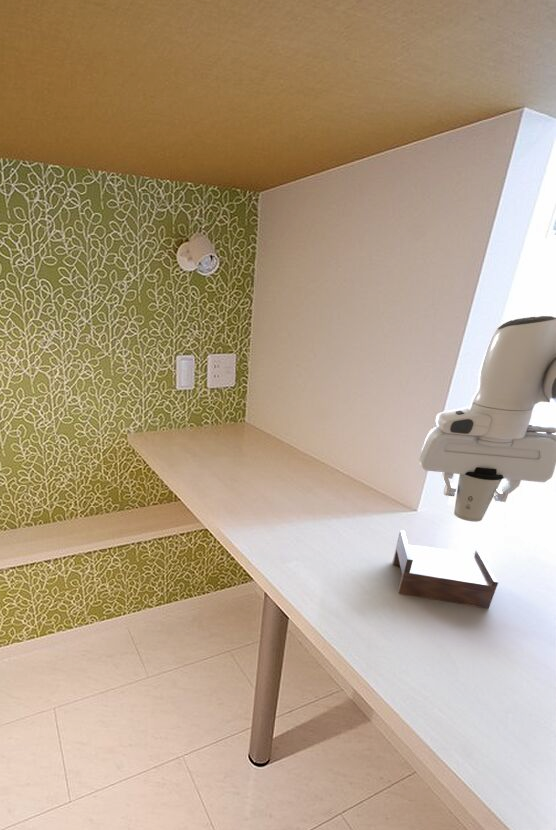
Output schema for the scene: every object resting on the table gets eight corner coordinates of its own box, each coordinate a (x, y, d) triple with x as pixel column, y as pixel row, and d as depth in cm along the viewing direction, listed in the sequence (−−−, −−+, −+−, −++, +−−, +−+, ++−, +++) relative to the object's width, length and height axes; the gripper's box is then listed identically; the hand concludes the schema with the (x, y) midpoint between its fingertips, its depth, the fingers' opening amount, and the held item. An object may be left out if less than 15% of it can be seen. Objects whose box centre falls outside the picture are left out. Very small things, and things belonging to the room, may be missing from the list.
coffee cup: (498, 521, 78) (516, 469, 74) (469, 527, 76) (486, 473, 72) (466, 505, 84) (480, 456, 80) (438, 510, 82) (451, 460, 77)
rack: (472, 574, 93) (483, 541, 89) (488, 608, 82) (501, 573, 79) (392, 561, 96) (400, 530, 93) (398, 593, 86) (407, 559, 83)
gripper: (560, 422, 73) (532, 498, 79) (427, 413, 78) (410, 484, 83) (578, 432, 67) (546, 512, 73) (434, 421, 72) (415, 497, 78)
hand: (473, 497), depth 78 cm, fingers closed on coffee cup, 7 cm apart
